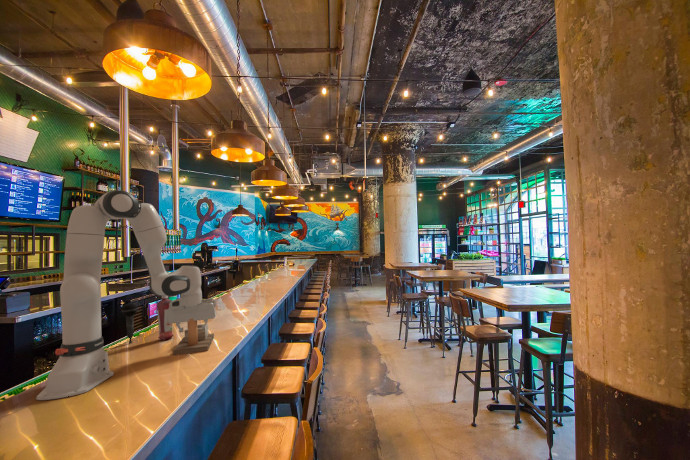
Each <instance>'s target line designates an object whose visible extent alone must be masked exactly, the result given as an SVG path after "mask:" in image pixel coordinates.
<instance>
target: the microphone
mask: <svg viewBox="0 0 690 460" xmlns="http://www.w3.org/2000/svg"><path fill="white" fill-rule="evenodd" d="M138 309H139V308H138V306H137V305H136V304H135V303H131V302H129V303H126V304H124V305H123V306H122V308H121V311H120V312H121V313H122V315H123V316H124V317H125V322H126V325H125V326H126V337H127V338H128V339H129V341H128V344H130V343H131V344H132V343H133V341H132V339H133V337H134V322H135V321H134V315H136V313H137V312H138Z"/></svg>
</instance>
